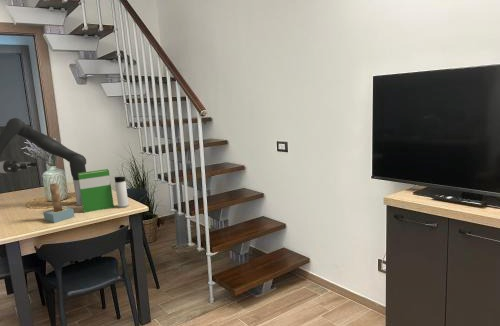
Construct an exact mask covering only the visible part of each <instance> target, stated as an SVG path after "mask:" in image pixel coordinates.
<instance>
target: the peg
mask: <svg viewBox="0 0 500 326" xmlns="http://www.w3.org/2000/svg"><path fill="white" fill-rule="evenodd" d="M49 189H50V195H51V201H52V207H53V208H52V209H54V212H59V211H62V207H63V206H62V200H61V195H60V194H61V193H60V188H59V183H50V184H49Z"/></svg>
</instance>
